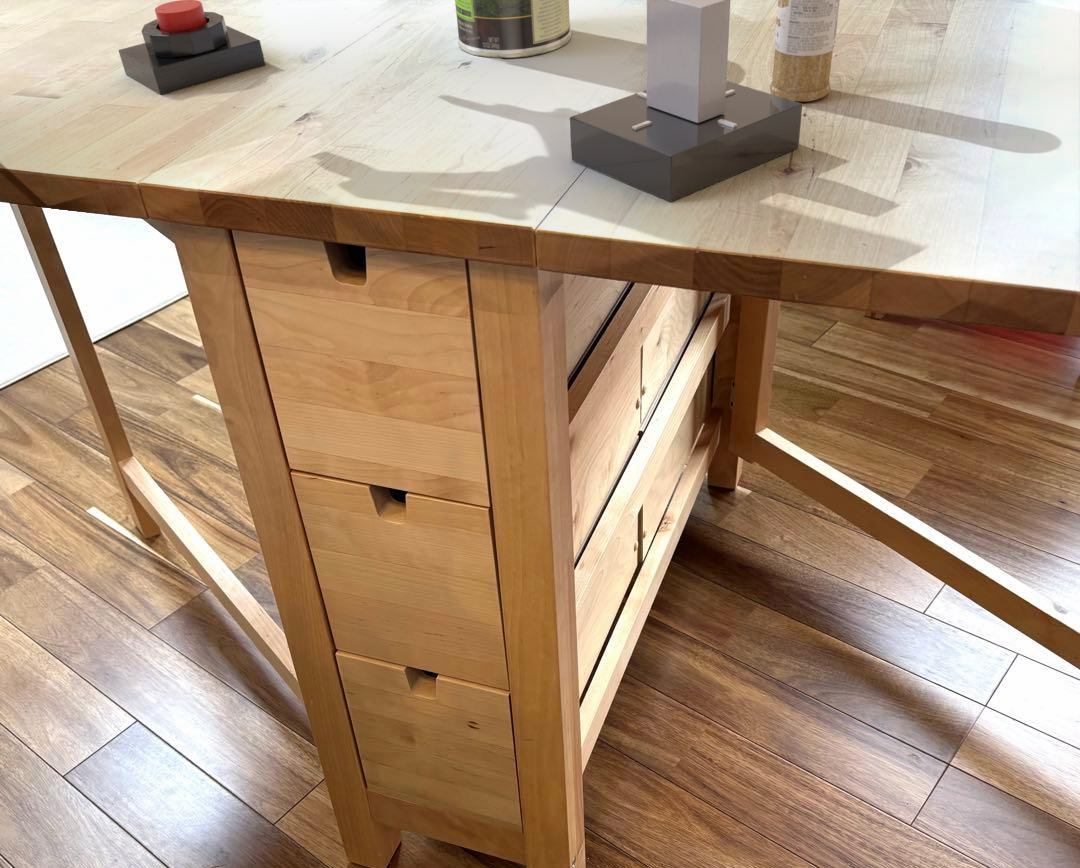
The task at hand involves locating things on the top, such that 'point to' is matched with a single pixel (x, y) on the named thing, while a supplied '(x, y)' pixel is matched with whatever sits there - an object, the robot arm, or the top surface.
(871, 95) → the top surface
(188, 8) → the ignition button
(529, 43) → the coffee can
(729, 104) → the dark grey flat block
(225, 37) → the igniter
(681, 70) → the light grey upright block
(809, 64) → the sprinkles bottle
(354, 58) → the top surface
